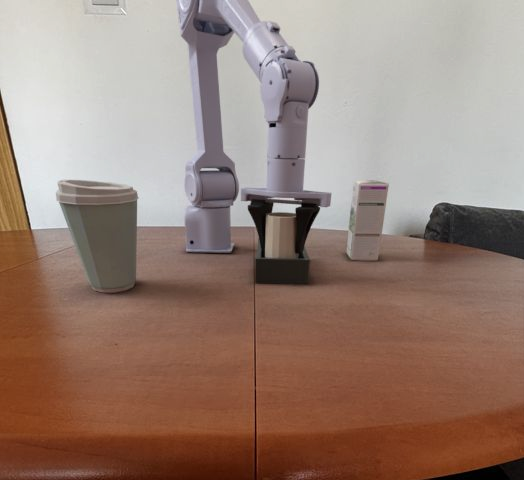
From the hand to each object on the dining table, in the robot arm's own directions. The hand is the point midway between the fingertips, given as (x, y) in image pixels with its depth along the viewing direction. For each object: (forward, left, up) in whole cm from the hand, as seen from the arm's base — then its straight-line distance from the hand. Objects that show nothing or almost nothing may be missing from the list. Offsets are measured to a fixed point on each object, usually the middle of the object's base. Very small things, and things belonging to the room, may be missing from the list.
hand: (282, 249), depth 63 cm
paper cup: (0, 0, -2) cm, 2 cm away
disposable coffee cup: (-26, -8, -5) cm, 28 cm away
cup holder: (0, +4, -4) cm, 6 cm away
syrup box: (+17, +15, -5) cm, 23 cm away
